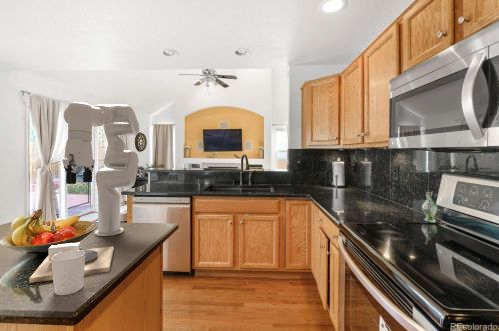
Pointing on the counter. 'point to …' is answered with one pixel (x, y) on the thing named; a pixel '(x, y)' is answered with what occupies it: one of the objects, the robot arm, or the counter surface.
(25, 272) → the counter surface
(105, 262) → the dial panel
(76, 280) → the white cup
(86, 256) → the dial
